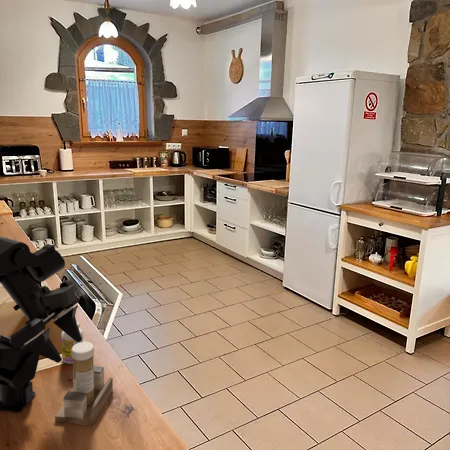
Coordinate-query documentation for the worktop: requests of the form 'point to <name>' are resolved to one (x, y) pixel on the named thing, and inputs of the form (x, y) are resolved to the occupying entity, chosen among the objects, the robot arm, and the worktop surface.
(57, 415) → the walnut spice rack
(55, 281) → the worktop surface
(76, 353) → the sprinkles bottle
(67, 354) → the supplement bottle
